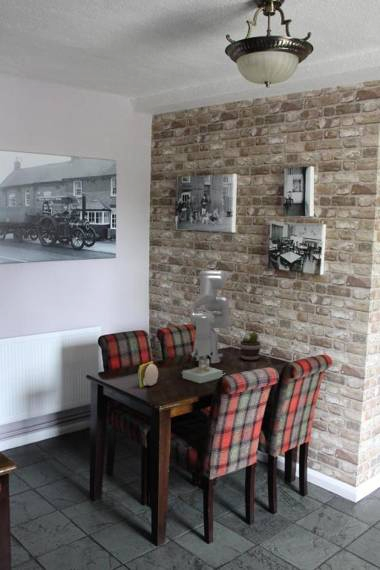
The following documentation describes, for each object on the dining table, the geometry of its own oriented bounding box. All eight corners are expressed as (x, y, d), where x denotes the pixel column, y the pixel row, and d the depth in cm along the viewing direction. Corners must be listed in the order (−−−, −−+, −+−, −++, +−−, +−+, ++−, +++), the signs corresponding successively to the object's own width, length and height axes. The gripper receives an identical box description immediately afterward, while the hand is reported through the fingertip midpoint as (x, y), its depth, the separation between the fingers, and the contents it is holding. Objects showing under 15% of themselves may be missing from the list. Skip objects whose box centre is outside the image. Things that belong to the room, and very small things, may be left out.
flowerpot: (234, 358, 373) (234, 329, 371) (252, 355, 382) (252, 326, 379) (248, 363, 361) (248, 332, 359) (266, 359, 369) (266, 330, 367)
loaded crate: (202, 369, 332) (202, 357, 331) (209, 370, 328) (209, 359, 327) (196, 370, 328) (195, 359, 327) (202, 372, 324) (202, 360, 323)
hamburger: (148, 388, 307) (148, 367, 306) (136, 386, 311) (136, 365, 310) (161, 383, 317) (160, 362, 316) (148, 381, 322) (148, 360, 320)
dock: (204, 372, 340) (204, 365, 340) (222, 377, 329) (222, 370, 329) (182, 377, 328) (182, 371, 328) (200, 383, 317) (200, 376, 317)
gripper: (208, 333, 334) (208, 361, 336) (187, 337, 323) (187, 366, 325) (217, 335, 329) (217, 364, 331) (196, 339, 317) (196, 369, 319)
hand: (202, 365), depth 328 cm, fingers open, 9 cm apart
